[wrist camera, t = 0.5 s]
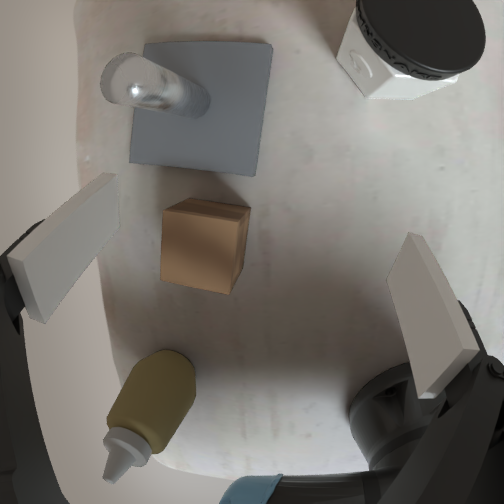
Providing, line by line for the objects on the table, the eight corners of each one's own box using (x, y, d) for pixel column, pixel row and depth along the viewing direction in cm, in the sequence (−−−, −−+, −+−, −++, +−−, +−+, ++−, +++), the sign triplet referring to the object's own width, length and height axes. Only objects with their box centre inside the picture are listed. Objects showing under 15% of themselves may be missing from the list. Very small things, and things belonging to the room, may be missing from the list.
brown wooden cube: (242, 268, 31) (229, 294, 25) (184, 256, 32) (160, 280, 26) (250, 207, 29) (237, 222, 23) (189, 198, 30) (163, 210, 24)
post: (208, 119, 26) (142, 103, 14) (176, 117, 26) (97, 104, 15) (213, 87, 25) (150, 50, 13) (181, 86, 25) (105, 55, 14)
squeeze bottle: (137, 369, 38) (68, 468, 21) (155, 329, 35) (72, 439, 18) (190, 400, 38) (139, 510, 21) (215, 364, 35) (161, 491, 19)
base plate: (255, 175, 28) (252, 176, 27) (136, 161, 29) (129, 162, 28) (273, 49, 24) (271, 44, 23) (152, 47, 25) (145, 43, 24)
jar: (318, 42, 23) (325, -21, 12) (384, 6, 21) (421, -57, 9) (378, 120, 25) (427, 103, 13) (441, 82, 22) (511, 54, 11)
